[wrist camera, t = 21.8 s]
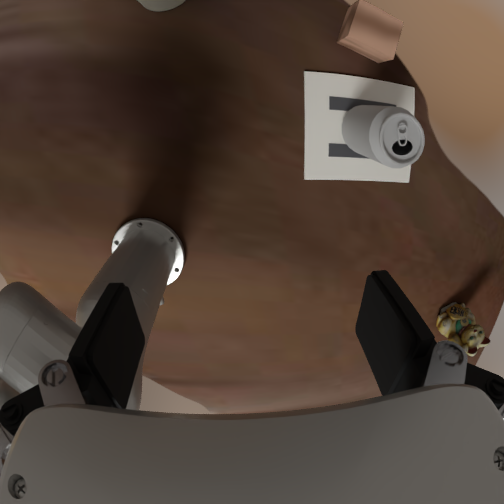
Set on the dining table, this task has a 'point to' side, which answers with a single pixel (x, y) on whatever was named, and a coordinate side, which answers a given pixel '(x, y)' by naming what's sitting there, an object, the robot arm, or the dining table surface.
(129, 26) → the dining table surface
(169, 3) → the travel mug
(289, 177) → the dining table surface
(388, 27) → the brown block
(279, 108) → the dining table surface
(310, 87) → the letter card
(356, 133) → the can
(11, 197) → the dining table surface
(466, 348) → the decorative figurine
